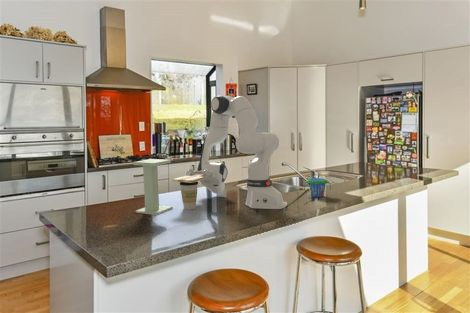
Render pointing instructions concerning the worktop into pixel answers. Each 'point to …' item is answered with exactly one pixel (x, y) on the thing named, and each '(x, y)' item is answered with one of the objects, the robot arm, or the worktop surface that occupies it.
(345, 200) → the worktop surface
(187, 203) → the coffee cup
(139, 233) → the worktop surface
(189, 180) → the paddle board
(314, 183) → the snack cup
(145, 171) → the tall stand
